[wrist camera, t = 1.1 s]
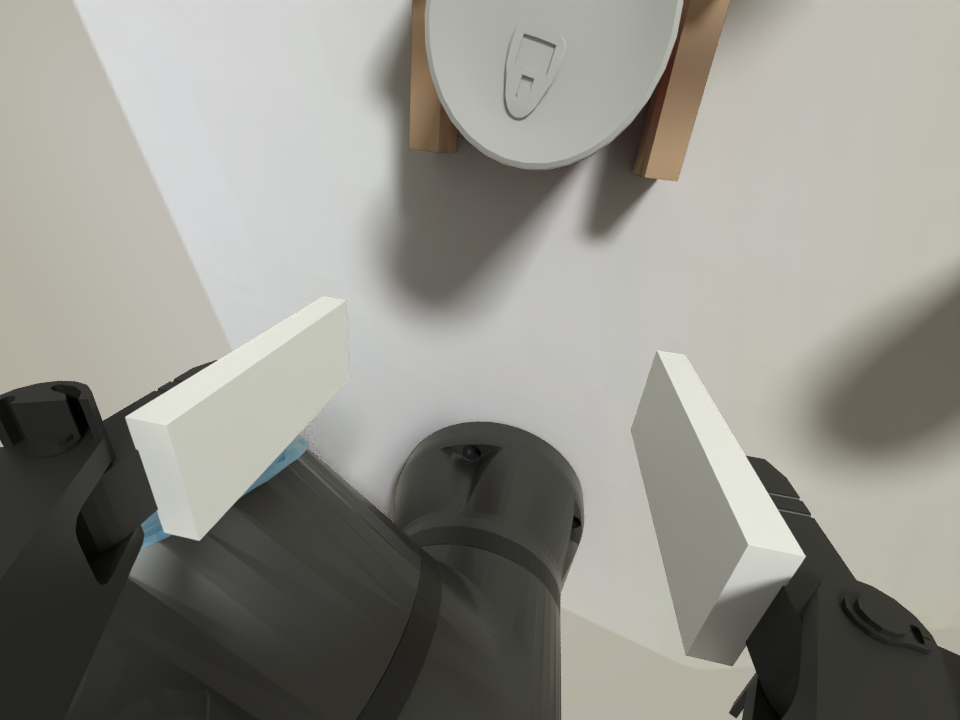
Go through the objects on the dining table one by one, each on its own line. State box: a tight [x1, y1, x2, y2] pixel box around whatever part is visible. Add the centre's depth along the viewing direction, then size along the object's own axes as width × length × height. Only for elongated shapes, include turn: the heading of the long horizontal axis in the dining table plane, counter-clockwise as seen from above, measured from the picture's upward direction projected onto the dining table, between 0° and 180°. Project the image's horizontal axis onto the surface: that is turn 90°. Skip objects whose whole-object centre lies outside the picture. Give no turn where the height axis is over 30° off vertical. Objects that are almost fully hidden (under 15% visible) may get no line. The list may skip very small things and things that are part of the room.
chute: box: [409, 0, 730, 181], centre depth 19 cm, size 9×13×6 cm
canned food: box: [425, 0, 683, 170], centre depth 17 cm, size 8×8×11 cm
